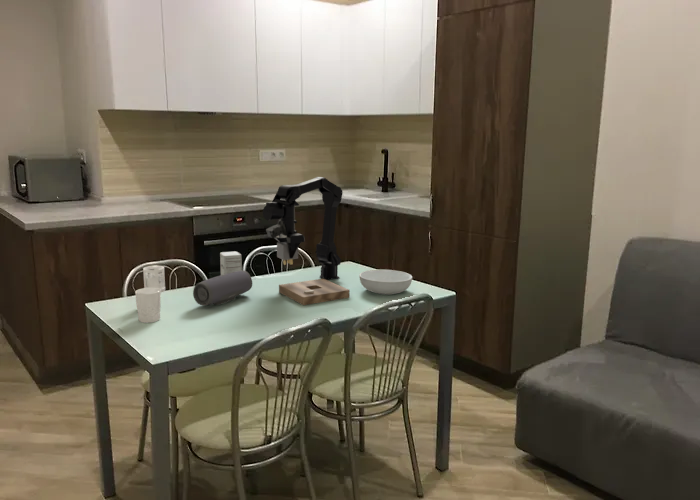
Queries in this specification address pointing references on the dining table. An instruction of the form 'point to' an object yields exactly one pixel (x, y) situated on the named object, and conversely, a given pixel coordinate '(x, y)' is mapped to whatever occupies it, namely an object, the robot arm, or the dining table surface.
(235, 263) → the supplement box
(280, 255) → the grey rectangular block
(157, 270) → the white tall cylindrical part
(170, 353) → the dining table surface
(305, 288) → the brown wooden flat slab
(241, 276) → the bluetooth speaker
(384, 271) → the serving bowl
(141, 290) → the white cup
